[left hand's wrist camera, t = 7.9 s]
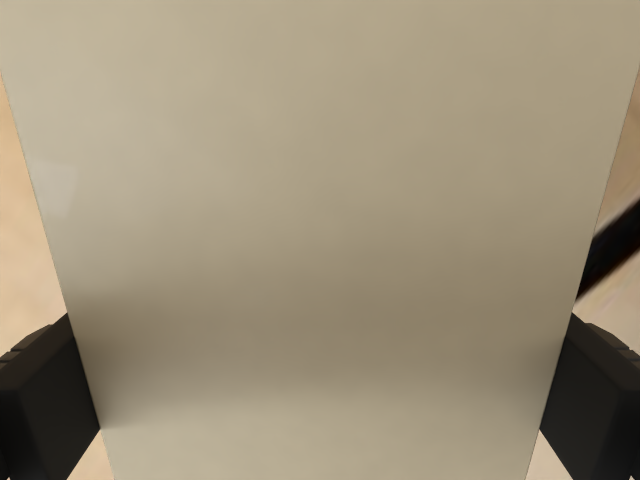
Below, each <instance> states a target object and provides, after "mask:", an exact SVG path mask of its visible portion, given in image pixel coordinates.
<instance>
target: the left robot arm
mask: <svg viewBox="0 0 640 480" xmlns="http://www.w3.org/2000/svg"><path fill="white" fill-rule="evenodd" d="M539 429H540V431H541V432H542V434H543V435H544V437H545V438H546V440H547V441H548V443H549V444H550V446H551V447H552V449H553V450H554V452H555V453H556V455H557V456H558V458H559V459H560V461H561V462H562V464H563V465H564V467H565V468H566V470H567V471H568V473H569V474H570V476H571V477H572V479H573V480H629V479H630V476H632V477H633V478H634V479H635V480H640V356H639V355H638V354H637V353H635V352H634V351H633V350H629V347H628V346H627V345H625V344H624V343H623V342H622V341H620V340H619V339H618V338H617V337H615V336H614V335H613V334H611V333H609V332H607V331H605V330H603V329H601V328H599V327H598V326H596V325H594V324H592V323H584V322H583V321H582V320H581V319H579V318H578V317H577V316H576V315H575V314H573V313H571V316H570V320H569V324H568V327H567V331H566V335H565V338H564V342H563V345H562V349H561V353H560V356H559V360H558V363H557V367H556V371H555V374H554V378H553V381H552V385H551V389H550V392H549V396H548V399H547V403H546V407H545V410H544V414H543V417H542V421H541V425H540V428H539ZM99 430H100V427H99V423H98V419H97V416H96V412H95V409H94V405H93V401H92V398H91V394H90V391H89V387H88V384H87V380H86V376H85V373H84V369H83V366H82V362H81V359H80V355H79V351H78V348H77V344H76V341H75V337H74V334H73V330H72V326H71V323H70V319H69V316H68V312H67V313H66V314H65V315H64V316H62V317H61V318H60V319H59V320H58V321H57V322H55V323H54V324H53V325H47V326H45V327H43V328H41V329H39V330H37V331H35V332H33V333H32V334H30V335H28V336H26V337H25V338H24V339H23V340H21V341H20V342H19V343H18V344H16V345H15V346H14V347H13V348H11V351H10V352H6V353H5V354H4V355H3V356H1V357H0V480H7V479H8V478H10V480H67V478H68V477H69V475H70V474H71V472H72V471H73V469H74V468H75V466H76V465H77V463H78V462H79V460H80V459H81V457H82V456H83V454H84V453H85V451H86V450H87V448H88V447H89V445H90V444H91V442H92V441H93V439H94V438H95V436H96V435H97V433H98V432H99Z"/></svg>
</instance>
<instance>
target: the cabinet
mask: <svg viewBox="0 0 640 480" xmlns="http://www.w3.org/2000/svg"><path fill="white" fill-rule="evenodd" d="M639 68H640V0H0V73H1V76H2V80H3V83H4V87H5V91H6V94H7V98H8V101H9V105H10V108H11V112H12V116H13V119H14V123H15V126H16V130H17V133H18V137H19V141H20V144H21V148H22V151H23V155H24V158H25V162H26V166H27V169H28V173H29V176H30V180H31V184H32V187H33V191H34V194H35V198H36V201H37V205H38V209H39V212H40V216H41V219H42V223H43V226H44V230H45V234H46V237H47V241H48V244H49V248H50V251H51V255H52V259H53V262H54V266H55V269H56V273H57V276H58V280H59V284H60V287H61V291H62V294H63V298H64V301H65V305H66V309H67V312H68V316H69V319H70V323H71V326H72V330H73V334H74V337H75V341H76V344H77V348H78V351H79V355H80V359H81V362H82V366H83V369H84V373H85V376H86V380H87V384H88V387H89V391H90V394H91V398H92V401H93V405H94V409H95V412H96V416H97V419H98V423H99V427H100V430H101V434H102V437H103V441H104V444H105V448H106V452H107V455H108V459H109V462H110V466H111V469H112V473H113V477H114V480H525V479H526V475H527V472H528V468H529V464H530V461H531V457H532V454H533V450H534V446H535V443H536V439H537V436H538V432H539V428H540V425H541V421H542V417H543V414H544V410H545V407H546V403H547V399H548V396H549V392H550V389H551V385H552V381H553V378H554V374H555V371H556V367H557V363H558V360H559V356H560V353H561V349H562V345H563V342H564V338H565V335H566V331H567V327H568V324H569V320H570V316H571V313H572V309H573V306H574V302H575V298H576V295H577V291H578V288H579V284H580V280H581V277H582V273H583V270H584V266H585V262H586V259H587V255H588V252H589V248H590V244H591V241H592V237H593V234H594V230H595V226H596V223H597V219H598V215H599V212H600V208H601V205H602V201H603V197H604V194H605V190H606V187H607V183H608V179H609V176H610V172H611V169H612V165H613V161H614V158H615V154H616V151H617V147H618V143H619V140H620V136H621V133H622V129H623V125H624V122H625V118H626V114H627V111H628V107H629V104H630V100H631V96H632V93H633V89H634V86H635V82H636V78H637V75H638V71H639Z"/></svg>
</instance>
